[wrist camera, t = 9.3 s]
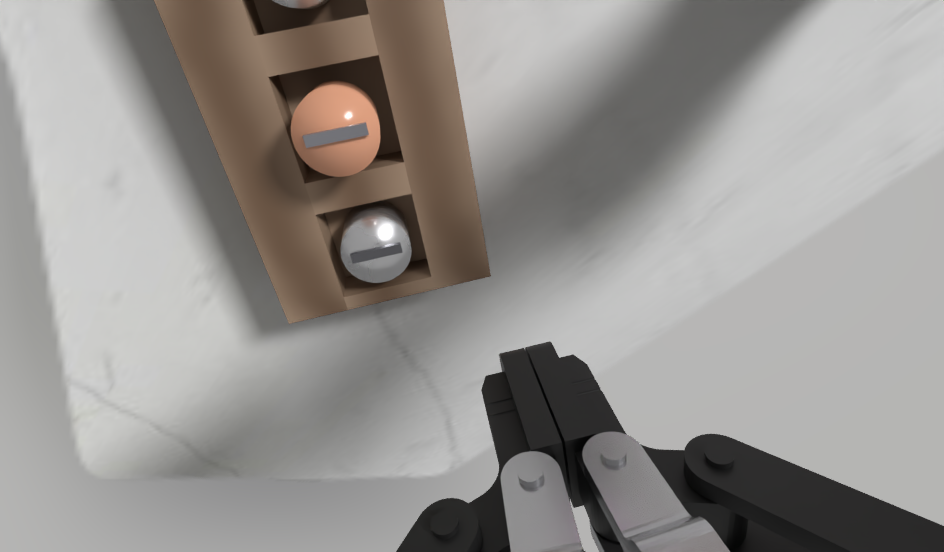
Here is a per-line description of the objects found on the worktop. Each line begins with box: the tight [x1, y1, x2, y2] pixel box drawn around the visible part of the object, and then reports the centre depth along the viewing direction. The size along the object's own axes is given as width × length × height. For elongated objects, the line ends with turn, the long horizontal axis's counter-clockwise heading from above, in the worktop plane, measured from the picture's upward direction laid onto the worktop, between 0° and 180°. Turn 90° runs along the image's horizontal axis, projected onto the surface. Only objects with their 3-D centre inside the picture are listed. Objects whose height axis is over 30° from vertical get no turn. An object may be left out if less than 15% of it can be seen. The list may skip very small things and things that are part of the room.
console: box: [154, 0, 491, 324], centre depth 31 cm, size 14×24×6 cm, turn 10°
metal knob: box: [341, 201, 411, 283], centre depth 33 cm, size 4×4×4 cm
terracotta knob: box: [291, 80, 380, 177], centre depth 27 cm, size 4×4×4 cm
